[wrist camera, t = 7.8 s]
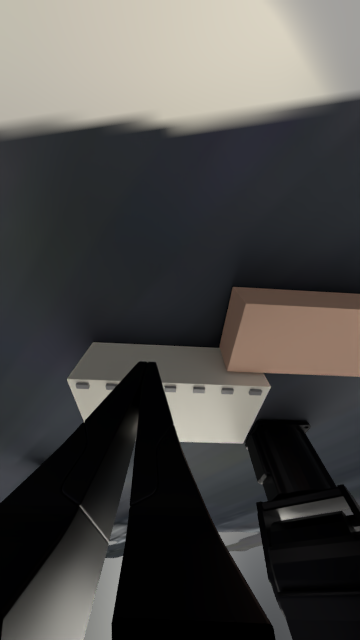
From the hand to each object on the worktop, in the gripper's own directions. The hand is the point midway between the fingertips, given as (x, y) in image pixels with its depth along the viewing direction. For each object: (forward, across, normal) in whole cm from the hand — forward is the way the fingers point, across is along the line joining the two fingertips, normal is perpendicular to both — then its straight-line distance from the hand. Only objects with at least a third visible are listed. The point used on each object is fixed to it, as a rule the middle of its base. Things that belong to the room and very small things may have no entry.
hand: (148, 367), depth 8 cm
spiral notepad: (+6, -1, +7) cm, 9 cm away
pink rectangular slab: (+6, -11, 0) cm, 12 cm away
